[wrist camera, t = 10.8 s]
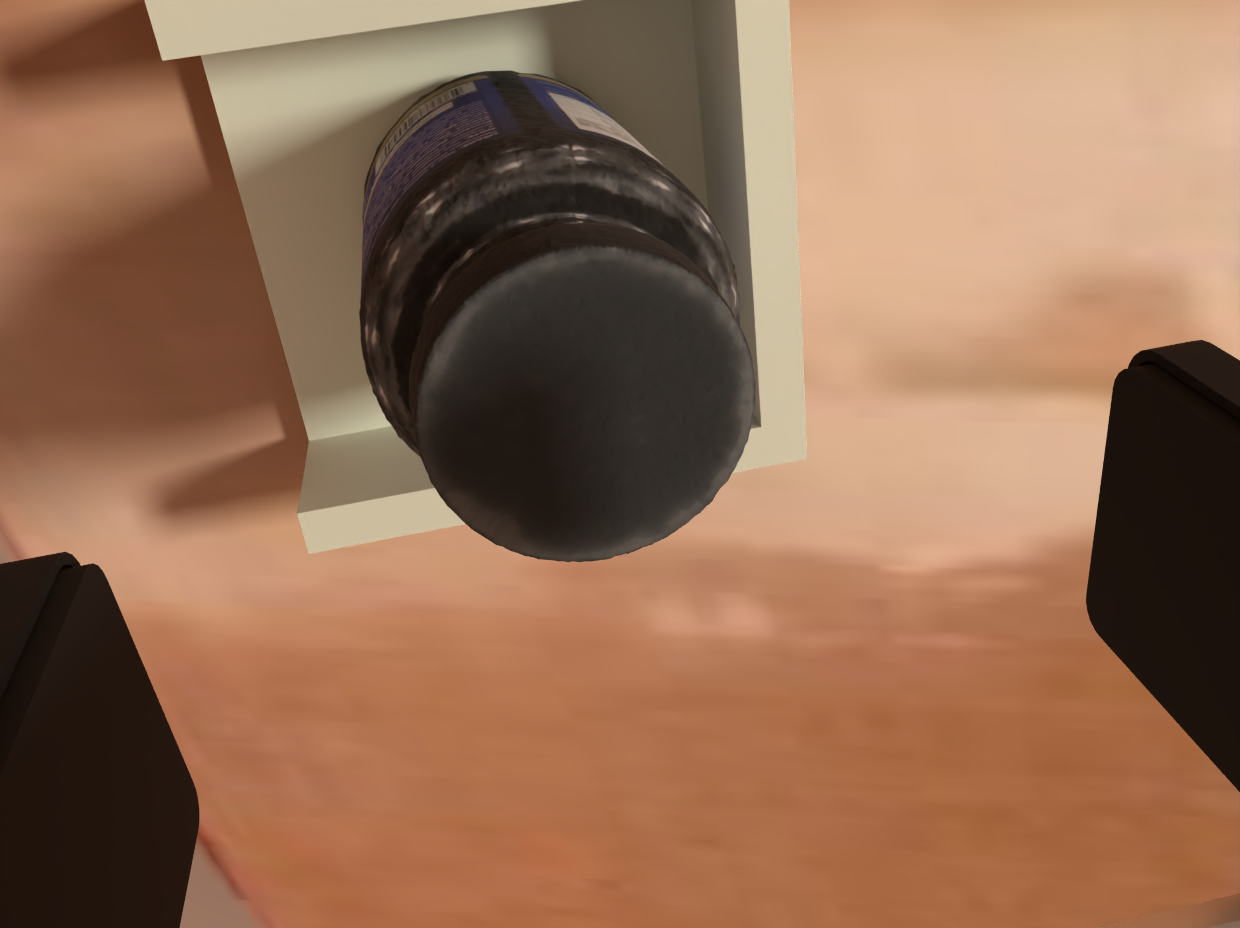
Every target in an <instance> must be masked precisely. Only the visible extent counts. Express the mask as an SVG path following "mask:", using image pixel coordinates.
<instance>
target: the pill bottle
mask: <svg viewBox="0 0 1240 928" xmlns="http://www.w3.org/2000/svg"><path fill="white" fill-rule="evenodd" d="M362 219H363V238H362V274H361V300H360V311H359V318H360V332H361V339H360V340H361V347H362V353H363V359H364V362H365V368H366V373H367V375H368V378H369V381H370V383H371V385H372V391H373V393H374V395H375V396H376V398H377V401H378V403H379V406H380V408H381V409H382V412H383V413H384V415H385V417H386V420H387V421H389V423H390V424H391V425H392V427H393V428H394V430H395V431H396V433H397V436H398V437H399V438H400V439H402V440H403V441H404V442H405V443H406V445H407V446H408V447H409V448H410V449H411V450H412V451H413V452H415V453H416V454H417V456H419V457H420V458H421V459H422V462H423V464H424V467H425V469H426V472H427V473H428V476H429V479H430V482H431V484H432V485H433V486H434V488H435V489H436V491H437V492H438V494H439V496H440V497H441V498H442V499H443V501H444V502H445V503H446V505H447V506H448V507H449V508H450V509H451V510H452V511H453V512H454V513H455V514H456V515H457V516H458V517H459V518H460V519H461V520H462V521H463V522H464V523H465V524H467V525H468V526H469V527H470V528H471V529H472V530H474V531H476V532H477V533H479V534H480V535H482V536H483V537H485V538H487V539H488V540H490V541H491V542H493V543H494V544H496V545H499V546H503V547H504V548H506V549H508V550H510V551H513V552H517V553H519V554H522V555H524V556H529V557H534V558H537V559H544V560H555V561H566V562H572V561H576V562H583V561H597V560H605V559H610V558H612V557H614V556H617V555H622V554H625V553H627V554H628V553H631V552H633V551H636V550H638V549H640V548H642V547H645V546H648V545H652V544H653V543H655V542H657V541H659V540H661V539H664V538H666V537H667V536H669V535H670V534H672V533H673V532H675V531H676V530H678V529H679V528H681V527H682V526H684V525H685V524H686V523H688V522H689V521H690V520H691V519H692V518H693V517H694V516H695V515H697V514H699V513H700V512H701V511H702V510H703V509H704V508H705V507H706V506H707V505H708V504H710V503H711V502H712V501H713V499H714V497H715V495H716V493H717V492H718V491H719V489H720V488H721V487H722V486H723V485H724V484H725V483H726V482H727V481H728V479H729V477H730V475H731V474H732V472H733V471H734V470H735V468H736V466H737V463H738V461H739V460H740V458H741V456H742V454H743V451H744V448H745V445H746V443H747V442H748V438H749V433H750V429H751V426H752V421H753V414H754V410H755V393H756V384H755V378H754V371H753V363H752V357H751V352H750V349H749V346H748V343H747V340H746V337H745V335H744V333H743V331H742V329H741V327H740V308H741V306H740V297H739V291H738V288H737V276H736V273H735V265H734V264H733V262H732V259H731V255H730V252H729V249H728V246H727V245H726V243H725V241H724V240H723V237H722V234H721V233H720V231H719V230H718V228H717V226H716V224H715V222H714V220H713V219H712V217H711V215H710V214H709V212H708V211H707V209H706V208H705V207H704V206H703V205H702V204H701V202H700V201H699V200H698V199H697V198H696V196H695V195H694V194H693V193H692V192H691V191H690V190H689V189H688V188H687V187H686V186H685V185H684V184H683V183H682V182H681V181H680V180H679V179H678V178H677V177H676V176H675V175H674V174H673V173H671V172H670V171H669V170H668V169H667V168H666V167H665V166H664V165H663V164H662V163H661V162H659V161H658V160H657V159H656V158H655V157H654V156H653V155H652V154H650V153H649V152H648V151H647V150H646V149H645V148H644V147H643V146H642V145H641V144H640V143H639V142H638V141H637V140H636V139H635V138H633V137H632V136H631V135H630V134H629V133H628V132H627V131H626V130H625V129H624V128H623V127H621V126H620V125H619V124H618V123H617V122H616V121H615V120H614V119H613V118H612V117H611V116H609V115H608V114H607V113H606V112H605V111H604V110H603V109H602V108H600V107H599V106H598V105H597V104H596V103H595V102H594V101H593V100H592V99H591V98H590V97H589V96H587V95H586V94H585V93H583V92H582V91H580V90H578V89H576V88H574V87H572V86H569V85H567V84H565V83H563V82H560V81H558V80H555V79H553V78H550V77H547V76H543V75H540V74H532V73H519V72H515V71H511V70H507V71H483V72H477V73H472V74H468V75H465V76H462V77H459V78H455V79H454V80H452V81H450V82H447V83H443V84H442V85H440V86H439V87H437V88H436V89H434V90H433V91H431V92H429V93H427V94H425V95H423V96H421V97H420V98H419V99H417V100H416V101H415V102H414V103H413V104H412V105H411V106H410V107H409V108H408V109H407V110H406V111H405V113H404V114H403V115H402V116H401V117H400V118H399V119H398V121H397V122H396V123H395V124H394V125H393V126H392V128H391V129H390V130H389V131H388V133H387V134H386V135H385V137H384V138H383V140H382V141H381V143H380V144H379V146H378V147H377V150H376V153H375V156H374V158H373V161H372V163H371V166H370V168H369V171H368V174H367V177H366V180H365V186H364V202H363V215H362Z"/></svg>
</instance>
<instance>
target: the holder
mask: <svg viewBox="0 0 1240 928" xmlns="http://www.w3.org/2000/svg"><path fill="white" fill-rule="evenodd" d="M144 1H145V4H146V7H147V11H148V14H149V17H150V21H151V24H152V28H153V31H154V34H155V38H156V41H157V44H158V48H159V51H160V54H161V58H162V61H164V60H171V59H178V58H185V57H192V56H199V55H201V59H202V62H203V66H204V69H205V73H206V76H207V80H208V83H209V87H210V91H211V94H212V98H213V101H214V105H215V108H216V112H217V116H218V119H219V123H220V126H221V130H222V133H223V137H224V140H225V144H226V148H227V151H228V155H229V158H230V162H231V165H232V169H233V172H234V176H235V180H236V183H237V187H238V190H239V194H240V197H241V201H242V204H243V208H244V212H245V215H246V219H247V222H248V226H249V229H250V233H251V236H252V240H253V244H254V247H255V251H256V254H257V258H258V261H259V265H260V268H261V272H262V276H263V279H264V283H265V286H266V290H267V293H268V297H269V301H270V304H271V308H272V311H273V315H274V318H275V322H276V325H277V329H278V333H279V336H280V340H281V343H282V347H283V350H284V354H285V357H286V361H287V365H288V368H289V372H290V375H291V379H292V382H293V386H294V389H295V393H296V397H297V400H298V404H299V407H300V411H301V414H302V418H303V421H304V425H305V429H306V432H307V436H308V439H309V443H308V450H307V456H306V462H305V468H304V474H303V480H302V487H301V493H300V499H299V505H298V511H297V515H298V519H299V522H300V525H301V529H302V532H303V535H304V539H305V542H306V545H307V549H308V552H309V554H311V553H316V552H322V551H327V550H332V549H337V548H343V547H348V546H353V545H358V544H364V543H369V542H374V541H379V540H385V539H390V538H395V537H400V536H406V535H411V534H416V533H421V532H427V531H432V530H437V529H442V528H447V527H453V526H458V525H463V524H465V523H464V522H463V521H462V520H461V519H460V518H459V517H458V516H457V515H456V514H455V513H454V512H453V511H452V510H451V509H450V508H449V507H448V506H447V505H446V503H445V502H444V501H443V499H442V498H441V497H440V496H439V494H438V492H437V491H436V489H435V488H434V486H433V485H432V484H431V482H430V479H429V476H428V473H427V472H426V469H425V467H424V464H423V462H422V459H421V458H420V457H419V456H417V454H416V453H415V452H413V451H412V450H411V449H410V448H409V447H408V446H407V445H406V443H405V442H404V441H403V440H402V439H400V438H399V437H398V436H397V433H396V431H395V430H394V428H393V427H392V425H391V424H390V423H389V421H387V420H386V417H385V415H384V413H383V412H382V409H381V408H380V406H379V403H378V401H377V398H376V396H375V395H374V393H373V391H372V385H371V383H370V381H369V378H368V375H367V373H366V368H365V362H364V359H363V353H362V347H361V340H360V339H361V332H360V318H359V311H360V300H361V274H362V238H363V219H362V215H363V202H364V186H365V180H366V177H367V174H368V171H369V168H370V166H371V163H372V161H373V158H374V156H375V153H376V150H377V147H378V146H379V144H380V143H381V141H382V140H383V138H384V137H385V135H386V134H387V133H388V131H389V130H390V129H391V128H392V126H393V125H394V124H395V123H396V122H397V121H398V119H399V118H400V117H401V116H402V115H403V114H404V113H405V111H406V110H407V109H408V108H409V107H410V106H411V105H412V104H413V103H414V102H415V101H416V100H417V99H419V98H420V97H421V96H423V95H425V94H427V93H429V92H431V91H433V90H434V89H436V88H437V87H439V86H440V85H442V84H443V83H447V82H450V81H452V80H454V79H455V78H459V77H462V76H465V75H468V74H472V73H477V72H483V71H507V70H511V71H515V72H519V73H532V74H540V75H543V76H547V77H550V78H553V79H555V80H558V81H560V82H563V83H565V84H567V85H569V86H572V87H574V88H576V89H578V90H580V91H582V92H583V93H585V94H586V95H587V96H589V97H590V98H591V99H592V100H593V101H594V102H595V103H596V104H597V105H598V106H599V107H600V108H602V109H603V110H604V111H605V112H606V113H607V114H608V115H609V116H611V117H612V118H613V119H614V120H615V121H616V122H617V123H618V124H619V125H620V126H621V127H623V128H624V129H625V130H626V131H627V132H628V133H629V134H630V135H631V136H632V137H633V138H635V139H636V140H637V141H638V142H639V143H640V144H641V145H642V146H643V147H644V148H645V149H646V150H647V151H648V152H649V153H650V154H652V155H653V156H654V157H655V158H656V159H657V160H658V161H659V162H661V163H662V164H663V165H664V166H665V167H666V168H667V169H668V170H669V171H670V172H671V173H673V174H674V175H675V176H676V177H677V178H678V179H679V180H680V181H681V182H682V183H683V184H684V185H685V186H686V187H687V188H688V189H689V190H690V191H691V192H692V193H693V194H694V195H695V196H696V198H697V199H698V200H699V201H700V202H701V204H702V205H703V206H704V207H705V208H706V209H707V211H708V212H709V214H710V215H711V217H712V219H713V220H714V222H715V224H716V226H717V228H718V230H719V231H720V233H721V234H722V237H723V240H724V241H725V243H726V245H727V246H728V249H729V252H730V255H731V259H732V262H733V264H734V265H735V273H736V276H737V288H738V291H739V297H740V306H741V308H740V327H741V329H742V331H743V333H744V335H745V337H746V340H747V343H748V346H749V349H750V352H751V357H752V363H753V371H754V378H755V384H756V393H755V410H754V414H753V421H752V426H751V429H750V433H749V438H748V442H747V443H746V445H745V448H744V451H743V454H742V456H741V458H740V460H739V461H738V463H737V466H736V468H735V470H734V471H733V472H732V473H736V472H741V471H746V470H751V469H757V468H762V467H767V466H772V465H778V464H783V463H788V462H793V461H799V460H804V459H807V439H806V414H805V389H804V364H803V339H802V314H801V289H800V264H799V239H798V214H797V189H796V163H795V138H794V113H793V88H792V63H791V38H790V13H789V0H144Z"/></svg>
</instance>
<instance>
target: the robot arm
mask: <svg viewBox="0 0 1240 928" xmlns="http://www.w3.org/2000/svg"><path fill="white" fill-rule="evenodd" d="M1086 605H1087V611H1088V615H1089V618H1090V621H1091V623H1092V625H1093V627H1094V629H1095V631H1096V632H1097V633H1098V635H1099V636H1100V637H1101V638H1102V639H1103V641H1104V642H1105V643H1106V644H1107V645H1108V646H1109V647H1110V648H1111V649H1112V651H1113V652H1114V653H1115V654H1116V655H1117V656H1118V657H1119V658H1120V659H1121V661H1122V662H1123V663H1124V664H1125V665H1126V666H1127V667H1128V668H1129V669H1130V671H1131V672H1132V673H1133V674H1134V675H1135V676H1136V677H1137V678H1138V679H1139V681H1140V682H1141V683H1142V684H1143V685H1144V686H1145V687H1146V688H1147V689H1148V691H1149V692H1150V693H1151V694H1152V695H1153V696H1154V697H1155V698H1156V699H1157V701H1158V702H1159V703H1160V704H1161V705H1162V706H1163V707H1164V708H1165V709H1166V711H1167V712H1168V713H1169V714H1170V715H1171V716H1172V717H1173V718H1174V719H1175V721H1176V722H1177V723H1178V724H1179V725H1180V726H1181V727H1182V728H1183V730H1184V731H1185V732H1186V733H1187V734H1188V735H1189V736H1190V737H1191V738H1192V740H1193V741H1194V742H1195V743H1196V744H1197V745H1198V746H1199V747H1200V748H1201V750H1202V751H1203V752H1204V753H1205V754H1206V755H1207V756H1208V757H1209V758H1210V760H1211V761H1212V762H1213V763H1214V764H1215V765H1216V766H1217V767H1218V768H1219V770H1220V771H1221V772H1222V773H1223V774H1224V775H1225V776H1226V777H1227V778H1228V780H1229V781H1230V782H1231V783H1232V784H1233V785H1234V786H1235V787H1236V788H1237V790H1238V791H1239V792H1240V360H1238V359H1236V358H1235V357H1233V356H1231V355H1230V354H1228V353H1226V352H1225V351H1223V350H1221V349H1220V348H1218V347H1216V346H1215V345H1213V344H1211V343H1209V342H1206V341H1203V340H1198V341H1191V342H1185V343H1180V344H1175V345H1169V346H1164V347H1159V348H1153V349H1148V350H1143V351H1140V352H1139V353H1137V354H1136V355H1135V356H1134V357H1133V359H1132V360H1131V362H1130V364H1129V366H1128V369H1124V370H1122V371H1121V372H1120V373H1119V374H1118V375H1117V377H1116V379H1115V382H1114V386H1113V393H1112V400H1111V408H1110V416H1109V424H1108V431H1107V439H1106V447H1105V455H1104V462H1103V470H1102V478H1101V486H1100V493H1099V501H1098V509H1097V517H1096V524H1095V532H1094V540H1093V548H1092V555H1091V563H1090V571H1089V579H1088V586H1087V594H1086ZM198 828H199V803H198V797H197V792H196V789H195V786H194V783H193V780H192V778H191V776H190V773H189V771H188V769H187V766H186V764H185V762H184V759H183V757H182V754H181V752H180V750H179V747H178V745H177V743H176V740H175V738H174V736H173V733H172V731H171V729H170V726H169V724H168V722H167V719H166V717H165V714H164V712H163V710H162V707H161V705H160V703H159V700H158V698H157V696H156V693H155V691H154V689H153V686H152V684H151V682H150V679H149V677H148V674H147V672H146V670H145V667H144V665H143V663H142V660H141V658H140V656H139V653H138V651H137V649H136V646H135V644H134V642H133V639H132V637H131V635H130V632H129V630H128V627H127V625H126V623H125V620H124V618H123V616H122V613H121V611H120V609H119V606H118V604H117V602H116V599H115V597H114V595H113V592H112V590H111V587H110V585H109V583H108V580H107V578H106V576H105V574H104V573H103V571H102V570H101V569H100V567H99V566H98V565H95V564H88V565H83V566H81V565H80V564H79V562H78V561H77V560H76V558H75V557H74V556H73V555H72V554H69V553H67V552H62V553H57V554H51V555H46V556H41V557H35V558H30V559H24V560H19V561H14V562H8V563H3V564H0V928H179V927H180V922H181V917H182V912H183V906H184V901H185V896H186V891H187V886H188V880H189V875H190V870H191V865H192V860H193V854H194V849H195V844H196V839H197V834H198ZM1097 928H1240V894H1236V895H1232V896H1228V897H1224V898H1220V899H1215V900H1211V901H1207V902H1203V903H1198V904H1194V905H1190V906H1186V907H1182V908H1177V909H1173V910H1169V911H1165V912H1160V913H1156V914H1152V915H1148V916H1144V917H1139V918H1135V919H1131V920H1127V921H1123V922H1118V923H1114V924H1110V925H1106V926H1102V927H1097Z"/></svg>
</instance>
